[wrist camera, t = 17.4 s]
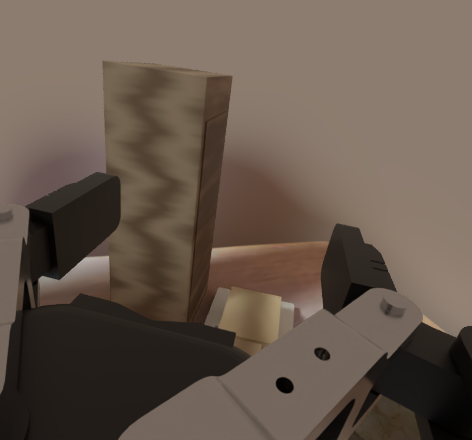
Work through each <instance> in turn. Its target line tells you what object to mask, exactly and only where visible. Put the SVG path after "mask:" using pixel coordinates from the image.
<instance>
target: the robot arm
mask: <svg viewBox="0 0 472 440" xmlns="http://www.w3.org/2000/svg"><path fill="white" fill-rule="evenodd" d="M120 218H121V183H120V179H119V177H118V176H114V175H109V174H105V173H100V172H96V173H94V174H92V175H90V176H88V177H86V178H84V179H83V180H81V181H79V182H77V183H73V184H69V185H66V186H64V187H62V188H60V189H58V190H57V191H54V192H52V193H50V194H49V195H48V196H44V197H42V198H40V199H39V200H36V201H35V202H33V203H31V204H29V205H27V206H25V207H24V206H20V205H15V204H0V440H347V439H348V438H349V437H350V435H351V434H352V433H353V432H354V431H355V429H356V428H357V427H358V426H359V424H360V423H361V422H362V421H363V419H364V418H365V417H366V416H367V414H368V413H369V412H370V411H371V409H372V408H373V407H374V406H375V404H376V403H377V402H378V401H379V399H380V398H381V397H382V395H383V396H385V397H387V398H389V399H390V400H392V401H394V402H396V403H398V404H400V405H402V406H404V407H405V408H407V409H409V410H411V411H413V412H414V413H415V418H416V422H417V425H418V429H419V433H420V437H421V440H472V326H467V327H464V328H463V329H462V330H461V331H460V333H459V335H458V336H457V338H456V337H453V336H451V335H449V334H446V333H444V332H442V331H440V330H437V329H435V328H433V327H431V326H428V325H427V324H425V323H423V322H422V320H423V315H422V313H421V311H420V309H419V308H418V307H417V306H416V304H415V303H413V302H412V301H411V300H410V299H408V298H407V297H405V296H403V295H401V294H399V293H397V291H396V288H395V286H394V284H393V281H392V279H391V276H390V274H389V272H388V269H387V267H386V265H385V262H384V260H383V257H382V255H381V253H380V252H378V250H377V249H376V248H374V247H373V246H372V245H370V244H365V243H364V241H363V238H362V235H361V233H360V229H359V228H357V227H352V226H347V225H342V224H336V226H335V227H334V230H333V233H332V236H331V239H330V242H329V245H328V248H327V252H326V255H325V258H324V261H323V265H322V270H321V287H322V298H323V309H322V310H320V311H318V312H317V313H315V314H314V315H312V316H311V317H309V318H308V319H306V320H305V321H303V322H302V323H300V324H299V325H297V326H296V327H295V328H293V329H292V330H290V331H289V332H287V333H286V334H284V335H283V336H281V337H280V338H278V339H277V340H275V341H274V342H272V343H271V344H269V345H268V346H266V347H265V348H263V349H262V350H260V351H259V352H258V353H256V354H255V355H253V356H250V355H249V354H248V353H246V352H244V351H243V350H241V349H240V348H238V347H236V346H234V342H235V337H236V332H232V331H228V330H224V329H220V328H216V327H212V326H208V325H204V324H200V323H192V322H174V321H156V320H151V319H148V318H146V317H144V316H142V315H140V314H138V313H136V312H134V311H133V310H131V309H129V308H127V307H125V306H123V305H121V304H119V303H116V302H112V301H108V300H104V299H100V298H96V297H92V296H88V295H84V294H79V295H78V296H77V297H76V298H75V299H74V300H73V302H72V303H71V304H56V305H47V306H41V307H40V285H39V278H40V277H41V276H45V277H49V278H53V279H57V280H60V279H61V278H62V277H63V276H65V275H66V274H67V273H68V272H69V271H70V270H71V269H72V268H74V267H75V266H76V265H77V264H78V263H79V262H80V261H81V260H83V259H84V258H85V257H86V256H87V255H88V254H89V253H90V252H92V251H93V250H94V249H95V248H96V247H97V246H98V245H99V244H101V243H102V242H103V241H104V240H105V239H106V238H107V237H108V236H110V235H111V234H112V233H113V232H114V231H115V230H116V229H117V227H118V225H119V222H120Z"/></svg>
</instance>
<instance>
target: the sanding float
mask: <svg viewBox="0 0 472 440" xmlns="http://www.w3.org/2000/svg"><path fill="white" fill-rule="evenodd" d="M280 308H281V297H280V296H275V295H271V294H266V293H262V292H257V291H253V290H248V289H244V288H239V287H235V286H232V287H231V290H230V293H229V296H228V299H227V303H226V306H225V309H224V312H223V315H222V318H221V321H220V324H219V327H218V328H220V329H224V330H228V331H232V332H236V337H235V342H234V346H236V347H238V348H240V349H241V350H243V351H244V352H246V353H248V354H249V355H250V356H253V355H255V354H256V353H258V352H259V351H260V350H262V349H263V348H265V347H266V346H268V345H269V344H271V343H272V342H274V341H275V340H277V339H278V331H279V319H280Z"/></svg>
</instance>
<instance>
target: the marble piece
mask: <svg viewBox="0 0 472 440" xmlns="http://www.w3.org/2000/svg"><path fill="white" fill-rule="evenodd" d="M348 440H421V437H420V433H419V429H418V425H417V422H416V418H415V413H414V412H413V411H411V410H409V409H407V408H405V407H404V406H402V405H400V404H398V403H396V402H394V401H392V400H390V399H389V398H387V397H385V396H383V395H382V397H381V398H380V399H379V401H378V402H377V403H376V404H375V406H374V407H373V408H372V409H371V411H370V412H369V413H368V414H367V416H366V417H365V418H364V419H363V421H362V422H361V423H360V424H359V426H358V427H357V428H356V429H355V431H354V432H353V433H352V434H351V435H350V437H349V438H348Z"/></svg>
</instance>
